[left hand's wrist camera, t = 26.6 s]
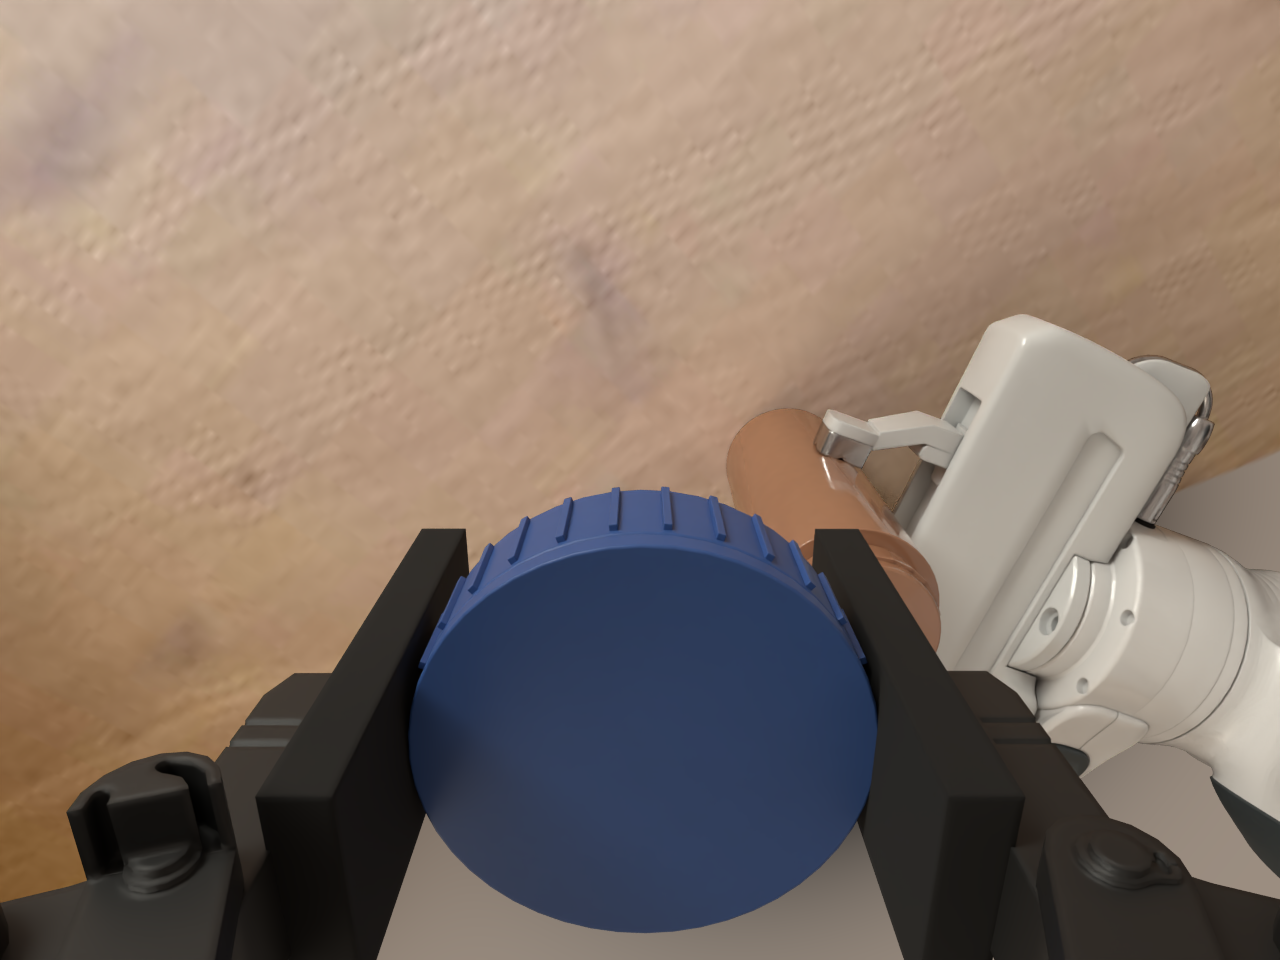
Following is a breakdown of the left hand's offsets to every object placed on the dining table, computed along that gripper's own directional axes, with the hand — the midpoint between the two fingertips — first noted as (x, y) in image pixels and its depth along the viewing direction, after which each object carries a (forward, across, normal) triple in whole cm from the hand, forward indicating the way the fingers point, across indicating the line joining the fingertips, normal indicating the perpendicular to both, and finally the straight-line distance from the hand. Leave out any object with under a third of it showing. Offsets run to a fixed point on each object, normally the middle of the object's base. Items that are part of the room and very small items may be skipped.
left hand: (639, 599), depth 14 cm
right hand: (+17, +6, -5) cm, 19 cm away
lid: (-4, 0, 0) cm, 4 cm away
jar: (+23, +7, -6) cm, 25 cm away
